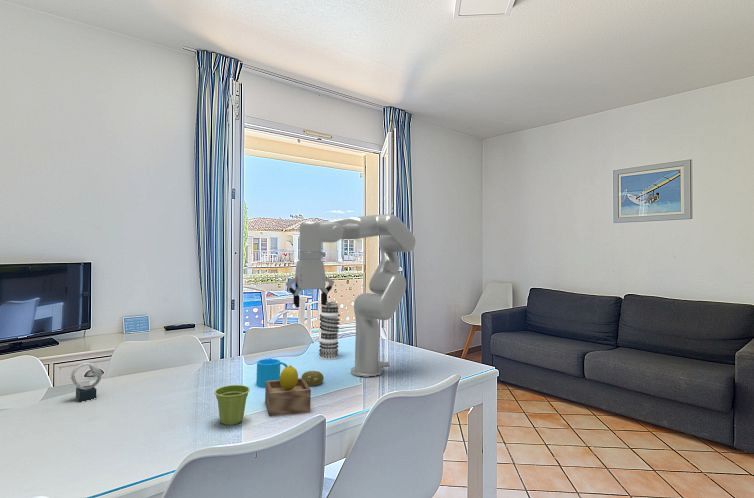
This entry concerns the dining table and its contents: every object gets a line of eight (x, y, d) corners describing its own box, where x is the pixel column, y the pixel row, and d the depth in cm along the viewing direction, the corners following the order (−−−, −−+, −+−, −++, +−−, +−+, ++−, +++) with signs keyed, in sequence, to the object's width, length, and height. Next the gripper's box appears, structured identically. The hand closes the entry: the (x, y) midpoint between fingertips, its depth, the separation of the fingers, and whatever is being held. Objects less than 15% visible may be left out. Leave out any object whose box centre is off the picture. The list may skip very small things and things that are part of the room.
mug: (262, 389, 146) (262, 365, 146) (252, 383, 152) (253, 360, 152) (293, 383, 154) (294, 361, 154) (283, 378, 160) (283, 356, 160)
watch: (103, 397, 134) (104, 362, 134) (72, 403, 129) (73, 367, 129) (98, 393, 138) (100, 359, 138) (68, 398, 132) (69, 363, 132)
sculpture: (321, 369, 159) (325, 375, 152) (321, 379, 159) (325, 386, 152) (300, 370, 157) (302, 376, 149) (299, 381, 157) (302, 387, 149)
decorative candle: (321, 354, 197) (322, 300, 197) (340, 355, 196) (342, 301, 196) (315, 359, 188) (317, 302, 188) (336, 360, 187) (337, 303, 187)
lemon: (280, 387, 134) (283, 362, 134) (297, 389, 134) (300, 364, 134) (276, 393, 128) (279, 366, 128) (294, 395, 128) (297, 368, 128)
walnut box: (302, 399, 139) (303, 378, 139) (310, 413, 127) (310, 389, 127) (265, 403, 134) (265, 381, 134) (269, 417, 123) (269, 393, 123)
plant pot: (214, 430, 113) (215, 397, 113) (212, 417, 122) (213, 386, 122) (250, 425, 117) (251, 393, 117) (246, 412, 125) (247, 383, 125)
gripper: (329, 256, 156) (329, 302, 156) (283, 256, 148) (283, 305, 148) (337, 257, 149) (337, 305, 150) (289, 257, 141) (289, 309, 142)
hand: (310, 305), depth 149 cm, fingers open, 9 cm apart
